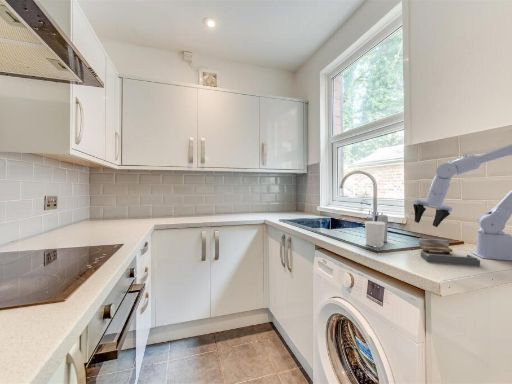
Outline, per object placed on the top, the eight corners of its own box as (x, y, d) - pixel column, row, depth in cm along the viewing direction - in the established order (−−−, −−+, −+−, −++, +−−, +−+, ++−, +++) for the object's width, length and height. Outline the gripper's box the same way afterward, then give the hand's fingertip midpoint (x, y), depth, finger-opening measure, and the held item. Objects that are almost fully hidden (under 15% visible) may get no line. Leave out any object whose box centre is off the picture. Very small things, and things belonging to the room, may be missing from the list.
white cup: (360, 244, 107) (361, 221, 106) (372, 242, 111) (372, 220, 110) (377, 248, 100) (377, 224, 100) (388, 246, 104) (389, 223, 103)
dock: (463, 256, 90) (463, 249, 89) (479, 266, 79) (480, 258, 79) (416, 253, 94) (416, 246, 94) (426, 261, 84) (427, 254, 84)
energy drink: (371, 240, 115) (372, 214, 115) (380, 239, 117) (380, 214, 117) (380, 242, 110) (381, 216, 110) (389, 241, 112) (390, 215, 112)
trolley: (447, 251, 96) (448, 240, 96) (453, 255, 91) (454, 243, 91) (418, 249, 99) (418, 238, 99) (422, 252, 94) (423, 241, 94)
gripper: (448, 195, 103) (436, 224, 106) (413, 187, 104) (403, 217, 106) (460, 198, 96) (448, 230, 99) (423, 190, 97) (412, 222, 99)
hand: (425, 224), depth 102 cm, fingers open, 7 cm apart
